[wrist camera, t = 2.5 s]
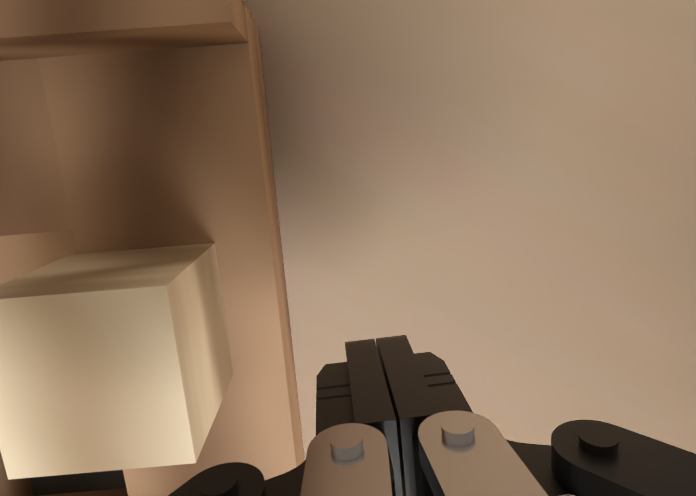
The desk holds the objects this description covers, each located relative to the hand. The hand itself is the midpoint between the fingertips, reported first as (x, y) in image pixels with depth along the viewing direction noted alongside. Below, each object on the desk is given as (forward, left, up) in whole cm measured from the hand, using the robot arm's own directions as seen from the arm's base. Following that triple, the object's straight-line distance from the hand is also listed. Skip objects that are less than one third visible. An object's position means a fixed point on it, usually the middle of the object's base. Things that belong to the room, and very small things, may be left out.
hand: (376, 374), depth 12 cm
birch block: (+7, -1, -4) cm, 8 cm away
